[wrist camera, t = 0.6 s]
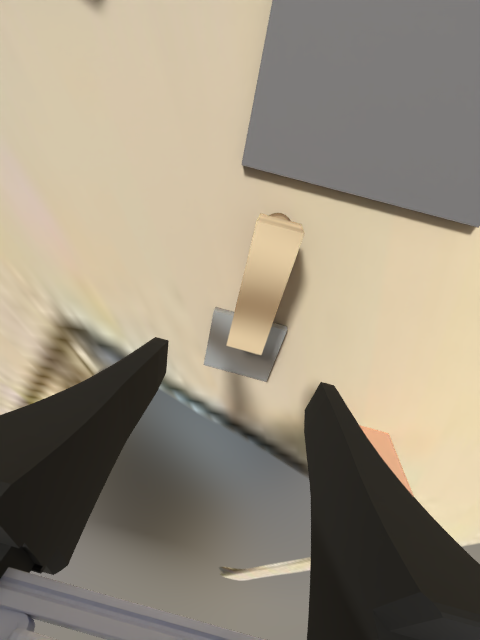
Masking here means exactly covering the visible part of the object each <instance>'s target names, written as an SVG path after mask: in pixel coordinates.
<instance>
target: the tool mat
mask: <svg viewBox="0 0 480 640" xmlns="http://www.w3.org/2000/svg"><path fill="white" fill-rule="evenodd" d="M242 165H243V166H247V167H251V168H254V169H258V170H262V171H266V172H269V173H273V174H277V175H281V176H285V177H288V178H292V179H296V180H300V181H304V182H307V183H311V184H315V185H319V186H323V187H326V188H330V189H334V190H338V191H342V192H345V193H349V194H353V195H357V196H361V197H364V198H368V199H372V200H376V201H380V202H383V203H387V204H391V205H395V206H399V207H402V208H406V209H410V210H414V211H418V212H421V213H425V214H429V215H433V216H437V217H440V218H444V219H448V220H452V221H456V222H459V223H463V224H467V225H471V226H475V227H479V226H480V0H273V1H272V6H271V12H270V17H269V22H268V27H267V33H266V38H265V43H264V49H263V54H262V59H261V65H260V70H259V75H258V80H257V86H256V91H255V96H254V102H253V107H252V112H251V118H250V123H249V128H248V133H247V139H246V144H245V149H244V155H243V160H242Z"/></svg>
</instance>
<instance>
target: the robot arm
mask: <svg viewBox="0 0 480 640" xmlns="http://www.w3.org/2000/svg"><path fill="white" fill-rule="evenodd" d="M167 353H168V340H164V339H160V338H157V337H155V338H153V339H152V340H150V341H149V342H147V343H146V344H144V345H143V346H141V347H140V348H138V349H137V350H135V351H134V352H132V353H131V354H129V355H128V356H126V357H125V358H123V359H121V360H120V361H118V362H117V363H115V364H113V365H112V366H110V367H108V368H106V369H105V370H103V371H101V372H99V373H98V374H96V375H94V376H92V377H90V378H88V379H87V380H85V381H83V382H81V383H79V384H77V385H74V386H72V387H70V388H68V389H66V390H64V391H62V392H59V393H57V394H55V395H52V396H50V397H47V398H45V399H43V400H40V401H38V402H35V403H33V404H30V405H28V406H25V407H22V408H19V409H17V410H14V411H11V412H8V413H5V414H2V415H0V640H57V639H53V638H50V637H47V636H44V635H41V634H38V633H35V632H34V628H35V623H34V620H33V619H37V620H40V621H44V622H47V623H50V624H54V625H58V626H61V627H65V628H68V629H72V630H76V631H79V632H82V633H86V634H89V635H93V636H96V637H100V638H103V639H107V640H265V639H262V638H258V637H255V636H251V635H248V634H244V633H241V632H237V631H234V630H230V629H226V628H223V627H219V626H216V625H212V624H209V623H205V622H202V621H198V620H194V619H191V618H187V617H184V616H180V615H176V614H173V613H170V612H166V611H162V610H159V609H155V608H152V607H148V606H145V605H141V604H138V603H134V602H130V601H127V600H123V599H120V598H116V597H113V596H109V595H106V594H102V593H98V592H95V591H91V590H88V589H84V588H81V587H77V586H74V585H70V584H66V583H63V582H59V581H56V580H52V579H49V578H45V577H42V576H38V575H34V574H31V573H30V571H34V572H37V573H42V572H46V573H49V574H53V575H54V574H56V573H57V572H59V571H61V570H62V569H63V568H65V567H66V566H67V565H68V564H69V561H70V559H71V557H72V554H73V552H74V549H75V547H76V545H77V543H78V541H79V539H80V536H81V534H82V532H83V529H84V527H85V525H86V523H87V521H88V518H89V516H90V514H91V512H92V510H93V508H94V505H95V503H96V501H97V499H98V497H99V495H100V493H101V491H102V489H103V486H104V485H105V483H106V480H107V478H108V476H109V474H110V472H111V470H112V468H113V466H114V464H115V462H116V460H117V458H118V456H119V454H120V452H121V450H122V448H123V446H124V444H125V443H126V441H127V439H128V437H129V436H130V434H131V432H132V431H133V429H134V428H135V426H136V425H137V423H138V421H139V420H140V418H141V417H142V415H143V413H144V412H145V410H146V409H147V407H148V405H149V404H150V402H151V400H152V399H153V397H154V396H155V394H156V392H157V391H158V388H159V386H160V384H161V382H162V380H163V378H164V376H165V374H166V367H167ZM304 433H305V443H306V453H307V462H308V471H309V480H310V492H311V572H310V574H311V575H310V598H309V618H308V633H307V640H480V564H479V563H478V562H477V561H475V560H474V559H473V558H472V557H471V556H470V555H469V554H468V553H467V552H466V551H465V550H464V549H463V548H462V547H461V546H460V545H459V544H458V543H457V542H456V541H455V540H454V539H453V538H452V537H451V536H450V535H449V534H448V533H447V532H446V531H445V530H444V529H443V528H442V527H441V526H440V525H439V524H438V523H437V522H436V521H435V520H434V519H433V517H432V516H431V515H430V514H429V513H428V512H427V511H426V510H425V509H424V508H423V507H422V505H421V504H420V503H419V502H418V501H417V500H416V499H415V498H414V497H413V495H412V494H411V493H410V492H409V491H408V490H407V489H406V487H405V486H404V485H403V484H402V483H401V481H400V480H399V479H398V478H397V476H396V475H395V474H394V473H393V471H392V470H391V469H390V468H389V467H388V465H387V464H386V463H385V461H384V460H383V459H382V457H381V456H380V455H379V453H378V452H377V451H376V449H375V448H374V446H373V445H372V444H371V442H370V441H369V439H368V438H367V436H366V435H365V433H364V432H363V430H362V429H361V427H360V426H359V424H358V423H357V421H356V420H355V418H354V417H353V415H352V413H351V412H350V410H349V409H348V407H347V405H346V404H345V402H344V401H343V399H342V397H341V396H340V394H339V392H338V391H337V389H336V388H335V386H334V385H330V384H327V383H323V382H321V383H320V385H319V386H318V388H317V390H316V392H315V393H314V395H313V397H312V398H311V400H310V402H309V404H308V405H307V407H306V409H305V421H304ZM32 618H33V619H32Z"/></svg>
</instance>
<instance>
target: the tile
mask: <svg viewBox="0 0 480 640" xmlns="http://www.w3.org/2000/svg"><path fill="white" fill-rule="evenodd" d="M359 426H360V425H359ZM360 427H361V429H362V430H363V432H364V433H365V435H366V436H367V438H368V439H369V441H370V442H371V444H372V445H373V446H374V448H375V449H376V451H377V452H378V453H379V455H380V456H381V457H382V459H383V460H384V461H385V463H386V464H387V465H388V467H389V468H390V469H391V470H392V471H393V473H394V474H395V475H396V476H397V478H398V479H399V480H400V481H401V483H402V484H403V485H404V486H405V487H406V489H407V490H408V491H409V492H410V493H411V494H412V495H413V493H412V491H411V488H410V486H409V483H408V481H407V478H406V476H405V473H404V471H403V468H402V466H401V463H400V461H399V458H398V456H397V453H396V451H395V448H394V446H393V443H392V441H391V438H390V436H389V433H385V432H382V431H378V430H374V429H371V428H367V427H363V426H360ZM413 497H414V496H413Z"/></svg>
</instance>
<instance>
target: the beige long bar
mask: <svg viewBox="0 0 480 640" xmlns="http://www.w3.org/2000/svg"><path fill="white" fill-rule="evenodd" d="M303 236H304V231H303V228H302V225H301V224H298V223H295V222H291V221H290V219H289V218H288V217H287V216H286V215H284V214H281V213H274V214H271V215H269V216H268V215H264V214H260V215H259V217H258V219H257V221H256V226H255V230H254V234H253V238H252V242H251V246H250V250H249V254H248V259H247V263H246V267H245V271H244V275H243V279H242V283H241V287H240V291H239V296H238V300H237V304H236V308H235V312H232V311H228V310H224V309H221V308H217V307H216V308H215V310H214V313H213V318H212V324H211V329H210V334H209V340H208V345H207V350H206V356H205V361H204V365H206V366H210V367H214V368H217V369H221V370H225V371H228V372H232V373H236V374H239V375H243V376H247V377H250V378H254V379H257V380H261V381H265V382H267V379H268V377H269V374H270V372H271V369H272V367H273V364H274V362H275V359H276V357H277V354H278V352H279V349H280V347H281V344H282V342H283V339H284V337H285V334H286V332H287V326H284V325H280V324H276V323H273V321H274V318H275V315H276V312H277V310H278V307H279V304H280V301H281V298H282V296H283V293H284V290H285V287H286V284H287V281H288V279H289V276H290V273H291V270H292V267H293V265H294V262H295V259H296V256H297V253H298V250H299V248H300V245H301V242H302V239H303Z"/></svg>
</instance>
